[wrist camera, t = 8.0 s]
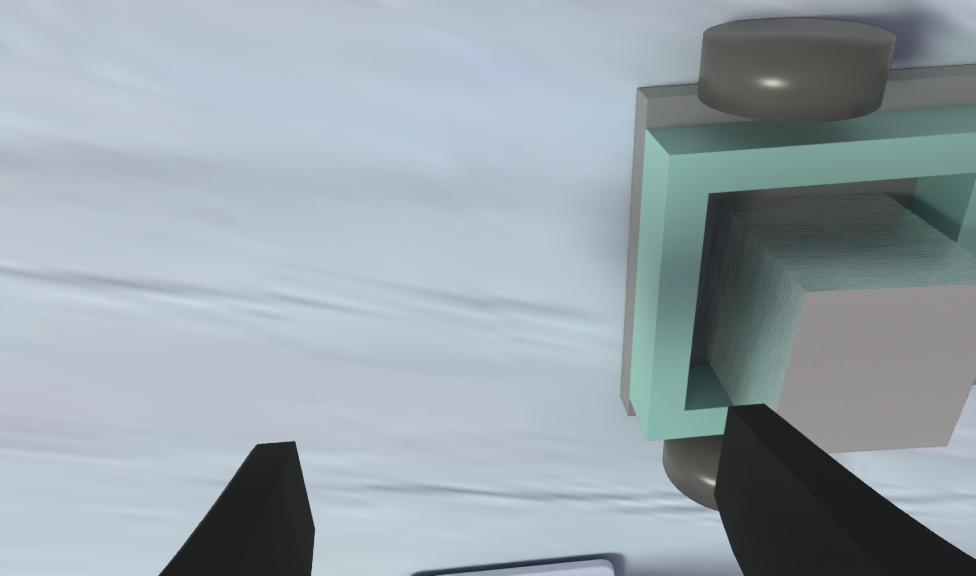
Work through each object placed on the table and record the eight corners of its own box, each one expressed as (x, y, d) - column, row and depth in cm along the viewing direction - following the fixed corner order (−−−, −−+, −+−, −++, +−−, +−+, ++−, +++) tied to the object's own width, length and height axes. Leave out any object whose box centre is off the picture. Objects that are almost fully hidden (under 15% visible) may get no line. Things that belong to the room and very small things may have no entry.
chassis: (1130, 384, 25) (1244, 466, 21) (618, 431, 24) (651, 523, 21) (1331, -20, 18) (1542, 3, 15) (640, 27, 18) (693, 63, 14)
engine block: (841, 331, 22) (947, 445, 17) (695, 338, 21) (764, 456, 17) (881, 191, 19) (1014, 282, 15) (718, 197, 19) (806, 291, 15)
